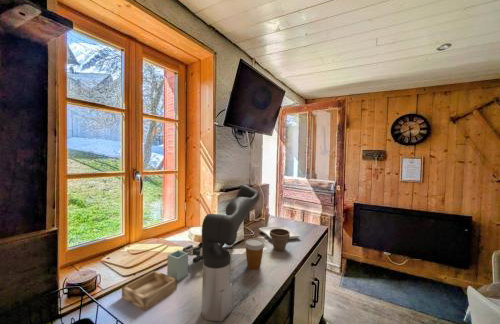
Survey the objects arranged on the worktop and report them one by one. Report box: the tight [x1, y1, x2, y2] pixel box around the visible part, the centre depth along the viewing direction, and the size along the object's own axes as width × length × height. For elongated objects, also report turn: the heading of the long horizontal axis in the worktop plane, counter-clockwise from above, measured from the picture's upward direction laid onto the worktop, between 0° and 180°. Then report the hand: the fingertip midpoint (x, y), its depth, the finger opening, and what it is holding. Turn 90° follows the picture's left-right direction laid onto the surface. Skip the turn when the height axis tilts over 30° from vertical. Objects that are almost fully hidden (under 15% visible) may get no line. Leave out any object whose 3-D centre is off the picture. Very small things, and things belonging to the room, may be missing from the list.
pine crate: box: [121, 269, 178, 311], centre depth 84 cm, size 13×14×4 cm
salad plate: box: [258, 225, 301, 241], centre depth 150 cm, size 21×21×3 cm
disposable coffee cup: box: [244, 238, 265, 271], centre depth 107 cm, size 10×10×12 cm
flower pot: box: [270, 229, 290, 252], centre depth 128 cm, size 12×11×10 cm
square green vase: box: [166, 249, 189, 283], centre depth 96 cm, size 6×6×10 cm
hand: (186, 258), depth 100 cm, fingers open, 8 cm apart
